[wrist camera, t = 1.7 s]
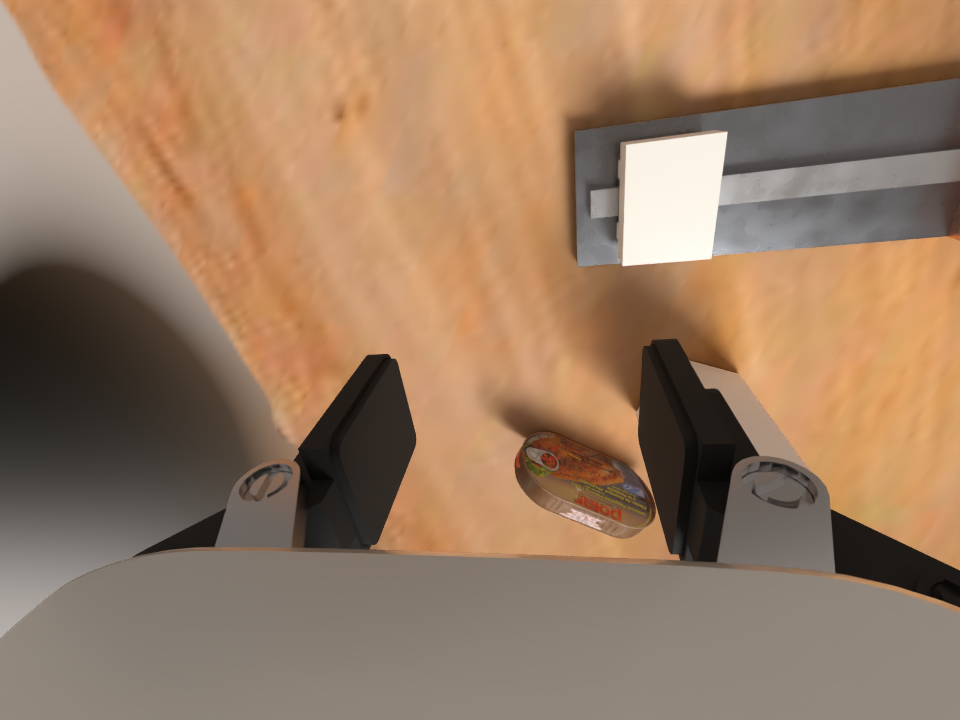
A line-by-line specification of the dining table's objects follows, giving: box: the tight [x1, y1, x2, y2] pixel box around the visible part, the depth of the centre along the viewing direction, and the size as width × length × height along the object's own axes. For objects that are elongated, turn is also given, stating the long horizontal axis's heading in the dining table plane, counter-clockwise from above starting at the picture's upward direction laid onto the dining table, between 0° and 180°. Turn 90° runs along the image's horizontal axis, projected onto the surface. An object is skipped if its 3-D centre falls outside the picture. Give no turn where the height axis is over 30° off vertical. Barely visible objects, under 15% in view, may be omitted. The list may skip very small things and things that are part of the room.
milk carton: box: [636, 360, 810, 471], centre depth 34 cm, size 7×7×19 cm
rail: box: [574, 77, 960, 267], centre depth 30 cm, size 28×10×5 cm, turn 97°
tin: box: [515, 432, 656, 539], centre depth 44 cm, size 15×3×8 cm, turn 66°
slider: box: [616, 130, 728, 266], centre depth 31 cm, size 6×8×4 cm
